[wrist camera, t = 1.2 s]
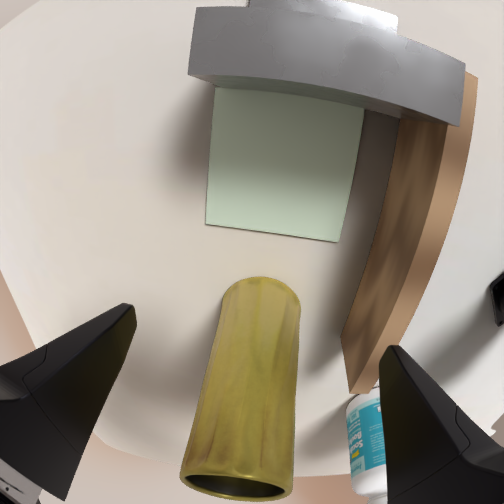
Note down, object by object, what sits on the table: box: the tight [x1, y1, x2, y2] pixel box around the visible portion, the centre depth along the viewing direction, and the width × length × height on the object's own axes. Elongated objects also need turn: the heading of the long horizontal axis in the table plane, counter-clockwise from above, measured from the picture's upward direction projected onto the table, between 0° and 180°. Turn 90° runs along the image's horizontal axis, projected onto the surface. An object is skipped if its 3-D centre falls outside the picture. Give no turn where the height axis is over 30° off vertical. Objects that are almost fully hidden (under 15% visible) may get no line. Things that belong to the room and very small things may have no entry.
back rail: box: [340, 71, 478, 394], centre depth 16 cm, size 20×2×6 cm, turn 174°
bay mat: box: [206, 87, 365, 242], centre depth 17 cm, size 9×9×1 cm
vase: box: [180, 277, 301, 502], centre depth 16 cm, size 6×6×14 cm
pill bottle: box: [346, 387, 388, 504], centre depth 21 cm, size 8×7×14 cm
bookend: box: [188, 0, 465, 127], centre depth 10 cm, size 7×11×7 cm, turn 84°
